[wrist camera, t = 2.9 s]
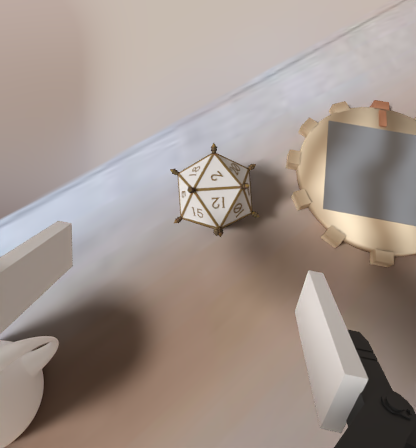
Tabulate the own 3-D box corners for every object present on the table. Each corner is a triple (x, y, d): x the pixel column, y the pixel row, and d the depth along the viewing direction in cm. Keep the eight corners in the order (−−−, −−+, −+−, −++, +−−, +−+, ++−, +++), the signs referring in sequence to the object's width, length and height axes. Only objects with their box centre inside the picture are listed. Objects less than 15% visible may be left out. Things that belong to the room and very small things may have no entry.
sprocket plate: (461, 122, 39) (470, 114, 38) (484, 286, 31) (497, 283, 30) (294, 94, 40) (297, 85, 39) (276, 245, 32) (279, 241, 31)
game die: (204, 209, 38) (200, 127, 33) (269, 226, 34) (276, 135, 29) (158, 246, 31) (144, 150, 26) (232, 272, 27) (232, 165, 22)
